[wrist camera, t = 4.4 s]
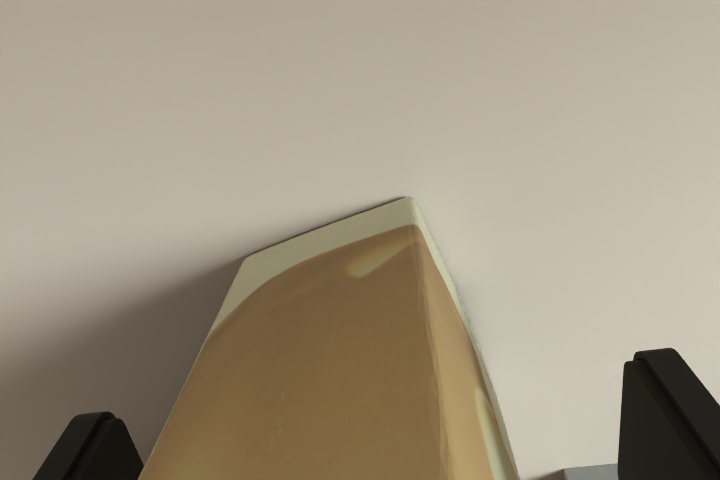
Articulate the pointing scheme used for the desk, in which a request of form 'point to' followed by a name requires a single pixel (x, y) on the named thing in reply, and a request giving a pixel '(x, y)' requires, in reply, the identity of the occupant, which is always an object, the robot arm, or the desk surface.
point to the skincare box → (339, 367)
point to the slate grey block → (592, 472)
